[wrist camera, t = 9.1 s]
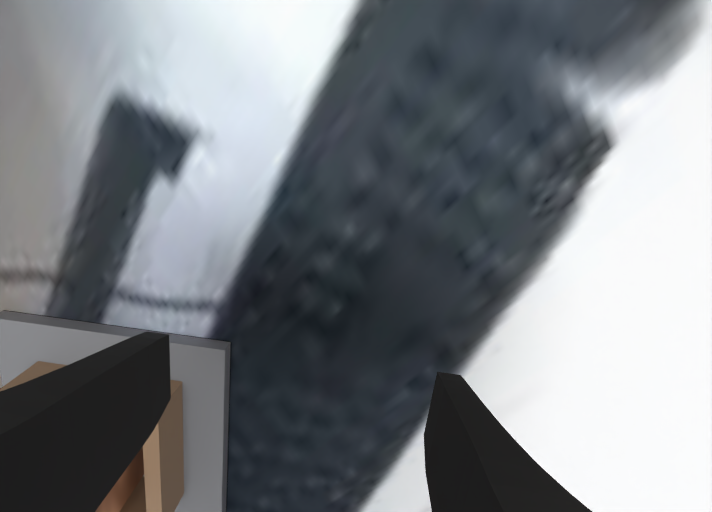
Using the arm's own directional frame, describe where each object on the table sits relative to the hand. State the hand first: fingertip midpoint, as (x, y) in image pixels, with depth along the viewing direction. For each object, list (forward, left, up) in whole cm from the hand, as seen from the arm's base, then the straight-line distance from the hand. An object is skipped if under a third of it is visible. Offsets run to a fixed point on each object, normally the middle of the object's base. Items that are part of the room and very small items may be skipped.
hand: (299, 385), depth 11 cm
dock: (-11, +11, -9) cm, 18 cm away
